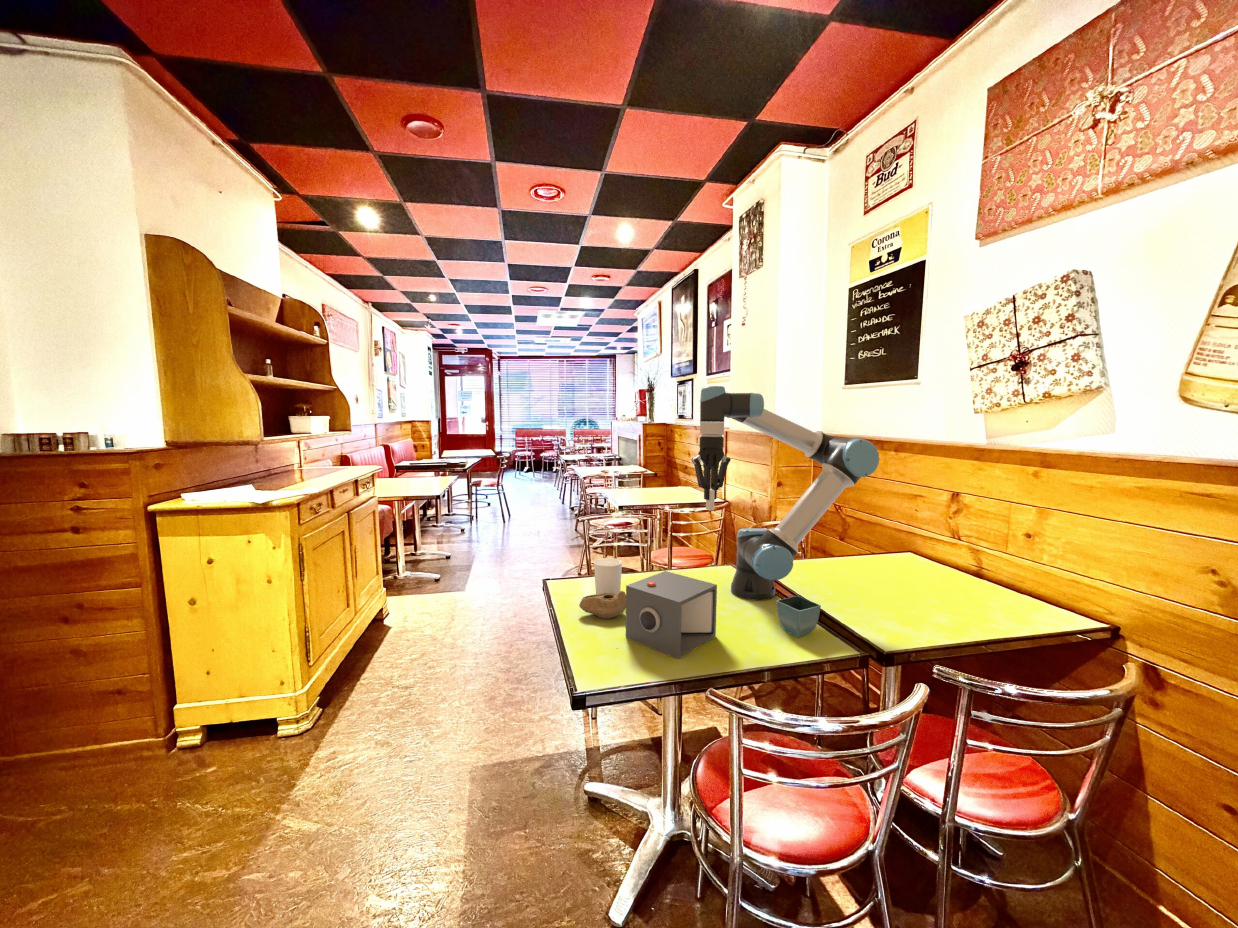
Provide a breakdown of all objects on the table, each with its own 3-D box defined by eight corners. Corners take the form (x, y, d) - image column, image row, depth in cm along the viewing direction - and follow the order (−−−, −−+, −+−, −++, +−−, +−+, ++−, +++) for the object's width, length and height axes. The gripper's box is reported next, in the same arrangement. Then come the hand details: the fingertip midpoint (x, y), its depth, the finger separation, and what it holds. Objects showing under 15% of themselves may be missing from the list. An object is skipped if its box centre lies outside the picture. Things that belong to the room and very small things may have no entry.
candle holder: (618, 601, 162) (619, 566, 161) (590, 599, 164) (590, 565, 163) (624, 591, 171) (624, 558, 170) (597, 589, 173) (597, 557, 172)
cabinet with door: (664, 618, 148) (665, 568, 147) (715, 636, 136) (716, 582, 135) (621, 639, 134) (622, 584, 132) (674, 661, 122) (675, 601, 120)
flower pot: (798, 642, 133) (799, 610, 132) (774, 629, 141) (775, 600, 140) (820, 635, 137) (821, 605, 136) (796, 624, 145) (797, 595, 144)
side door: (711, 631, 136) (712, 591, 135) (712, 633, 134) (713, 592, 133) (658, 631, 135) (658, 591, 134) (658, 633, 134) (659, 592, 133)
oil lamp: (577, 610, 154) (577, 586, 154) (623, 607, 157) (623, 583, 157) (582, 624, 144) (582, 598, 143) (631, 620, 147) (631, 595, 146)
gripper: (724, 435, 157) (722, 506, 159) (687, 435, 153) (686, 508, 156) (736, 436, 150) (734, 510, 152) (698, 436, 146) (696, 512, 148)
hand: (710, 509), depth 154 cm, fingers closed
